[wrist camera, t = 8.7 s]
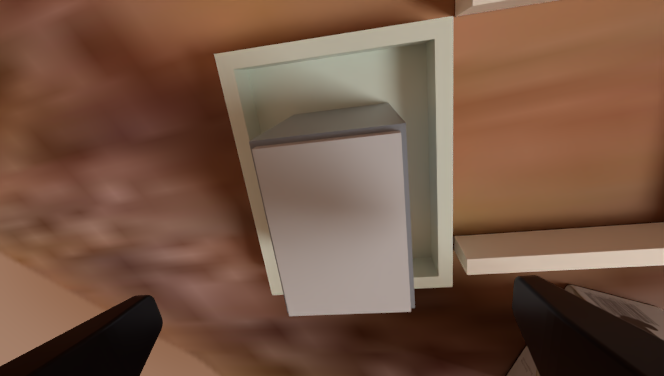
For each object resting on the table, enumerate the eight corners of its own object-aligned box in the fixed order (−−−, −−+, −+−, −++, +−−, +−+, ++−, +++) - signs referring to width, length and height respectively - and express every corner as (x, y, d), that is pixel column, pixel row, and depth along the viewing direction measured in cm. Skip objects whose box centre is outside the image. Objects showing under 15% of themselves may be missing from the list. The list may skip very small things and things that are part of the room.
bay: (797, -66, 13) (897, -97, 10) (702, 235, 17) (755, 260, 15) (455, -8, 14) (473, -23, 12) (454, 250, 19) (466, 275, 17)
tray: (439, 25, 15) (453, 16, 13) (441, 261, 19) (452, 286, 17) (235, 56, 16) (213, 54, 14) (282, 270, 21) (272, 295, 18)
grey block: (387, 102, 16) (407, 124, 9) (396, 223, 18) (416, 316, 11) (293, 114, 16) (244, 144, 10) (313, 229, 19) (285, 320, 12)
